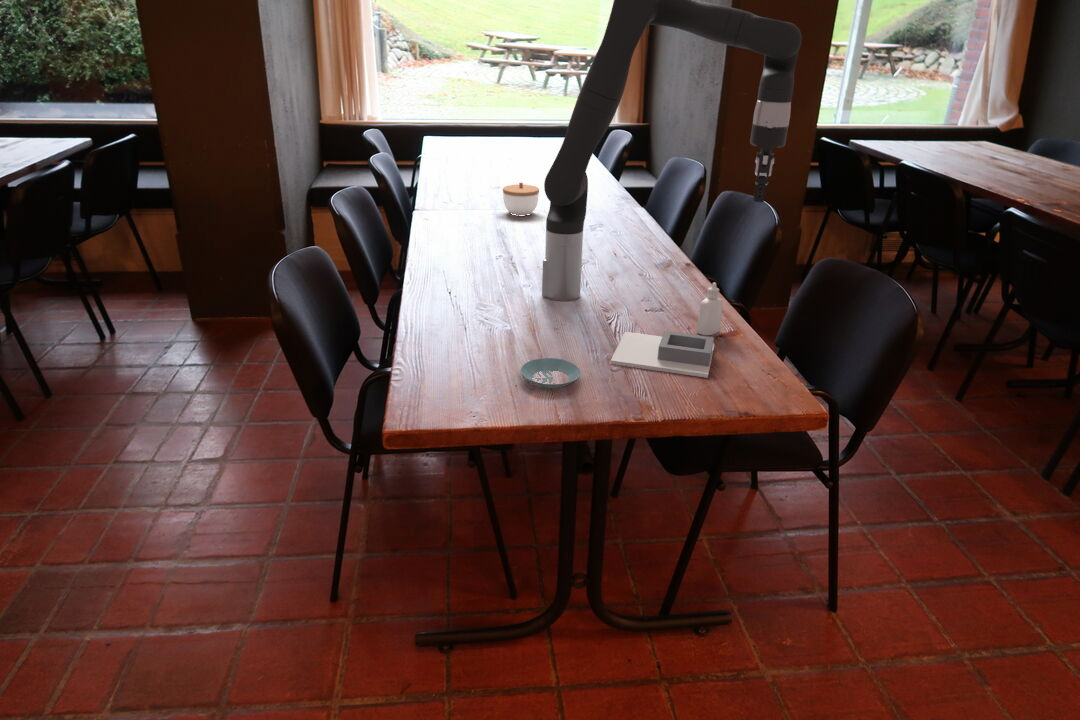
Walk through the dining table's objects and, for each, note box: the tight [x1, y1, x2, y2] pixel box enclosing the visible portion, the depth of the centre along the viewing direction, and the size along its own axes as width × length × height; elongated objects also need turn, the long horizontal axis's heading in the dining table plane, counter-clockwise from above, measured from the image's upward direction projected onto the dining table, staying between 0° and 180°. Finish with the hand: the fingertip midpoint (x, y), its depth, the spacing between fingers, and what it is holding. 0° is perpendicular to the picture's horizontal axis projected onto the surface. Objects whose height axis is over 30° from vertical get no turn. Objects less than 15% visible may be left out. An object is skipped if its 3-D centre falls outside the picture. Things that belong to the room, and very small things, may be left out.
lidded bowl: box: [502, 182, 540, 215], centre depth 264 cm, size 13×13×11 cm
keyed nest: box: [610, 330, 715, 379], centre depth 161 cm, size 20×16×4 cm
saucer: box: [520, 357, 581, 389], centre depth 150 cm, size 12×12×2 cm
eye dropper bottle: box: [696, 282, 724, 337], centre depth 171 cm, size 4×6×12 cm
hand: (759, 197), depth 170 cm, fingers open, 8 cm apart
